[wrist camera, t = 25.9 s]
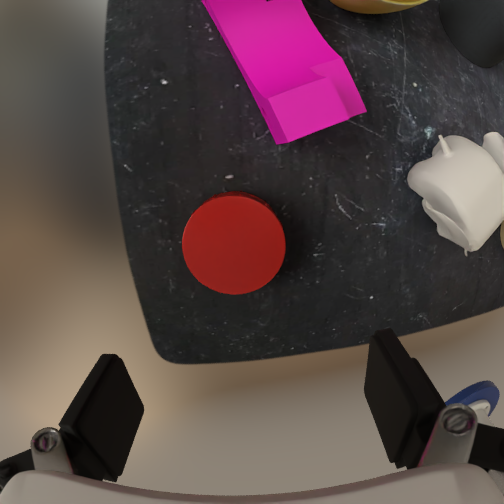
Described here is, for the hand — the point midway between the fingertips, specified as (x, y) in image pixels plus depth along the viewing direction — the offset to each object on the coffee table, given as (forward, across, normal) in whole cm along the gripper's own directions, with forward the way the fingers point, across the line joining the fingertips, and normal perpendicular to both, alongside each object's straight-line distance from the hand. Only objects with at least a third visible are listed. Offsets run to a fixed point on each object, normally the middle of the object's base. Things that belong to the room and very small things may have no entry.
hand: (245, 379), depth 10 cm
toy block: (+16, -4, -16) cm, 23 cm away
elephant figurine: (+16, -18, -3) cm, 25 cm away
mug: (+16, -25, -22) cm, 37 cm away
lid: (+13, +1, -1) cm, 13 cm away
